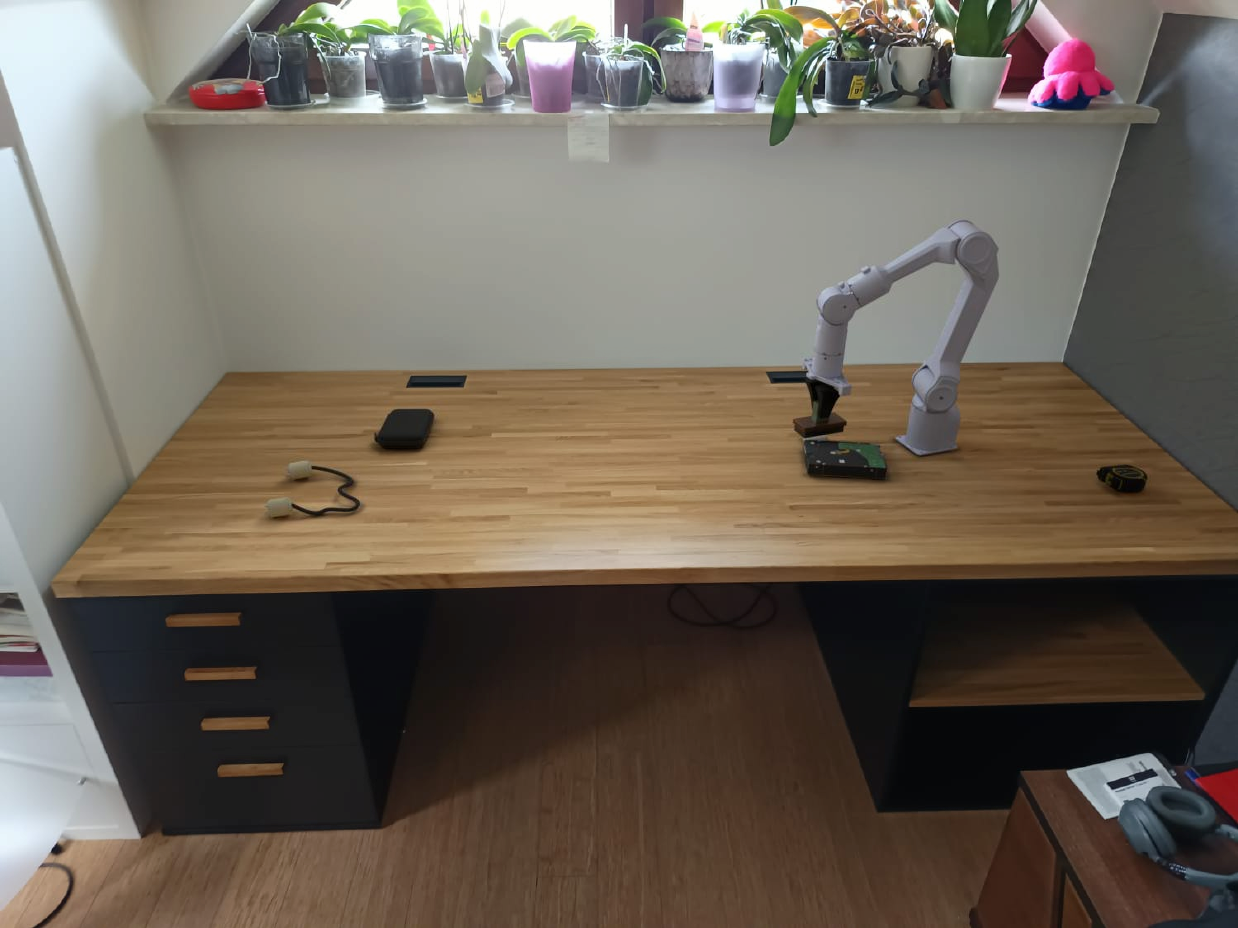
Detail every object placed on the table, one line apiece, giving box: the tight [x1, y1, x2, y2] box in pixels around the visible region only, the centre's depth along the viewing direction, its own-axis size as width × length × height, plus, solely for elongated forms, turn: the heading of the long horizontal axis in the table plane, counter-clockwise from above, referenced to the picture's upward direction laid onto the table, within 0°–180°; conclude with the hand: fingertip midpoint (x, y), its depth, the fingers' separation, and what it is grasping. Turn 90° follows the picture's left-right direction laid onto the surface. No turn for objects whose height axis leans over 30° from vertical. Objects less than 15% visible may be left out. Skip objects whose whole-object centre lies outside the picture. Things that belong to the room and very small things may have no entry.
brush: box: [792, 400, 848, 439], centre depth 173 cm, size 10×5×6 cm, turn 110°
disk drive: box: [802, 440, 889, 480], centre depth 168 cm, size 10×3×15 cm
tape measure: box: [1095, 464, 1148, 494], centre depth 161 cm, size 7×7×4 cm
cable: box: [264, 459, 361, 518], centre depth 156 cm, size 16×16×4 cm
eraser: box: [802, 435, 829, 442], centre depth 176 cm, size 4×3×1 cm, turn 96°
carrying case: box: [373, 408, 435, 449], centre depth 178 cm, size 11×3×15 cm
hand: (820, 414), depth 173 cm, fingers closed on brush
